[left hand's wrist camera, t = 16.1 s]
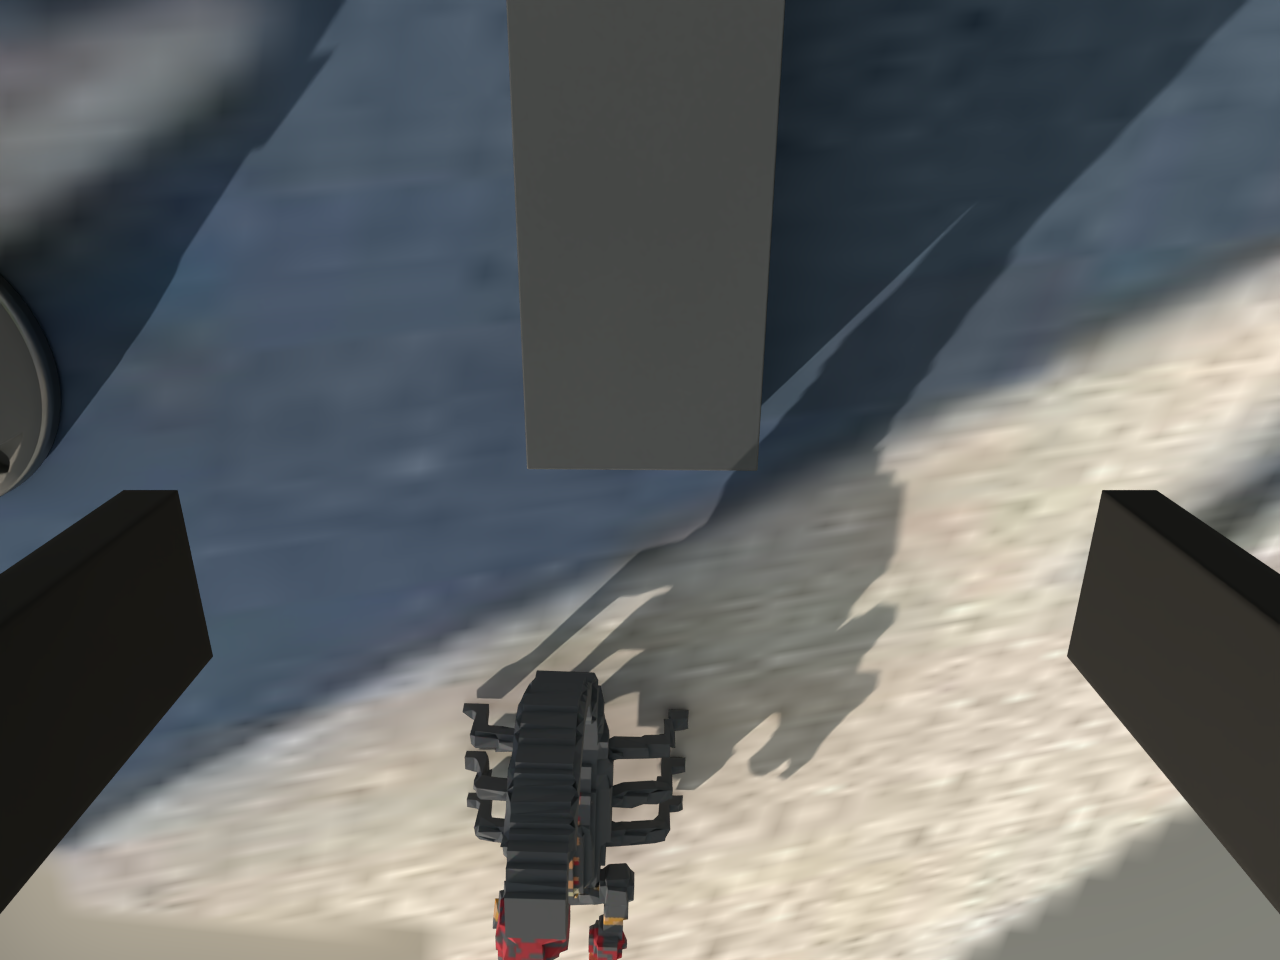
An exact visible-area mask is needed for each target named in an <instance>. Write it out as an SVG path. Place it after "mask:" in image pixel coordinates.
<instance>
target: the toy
mask: <svg viewBox="0 0 1280 960" xmlns="http://www.w3.org/2000/svg"><path fill="white" fill-rule="evenodd" d="M463 713H465V714H466V715H467V716H469V717H470V718H472V719H473V720H474V723H473V726H472V730H471V733H470V738H471V744H472V745H473V746H474V747H475V748H496V751H495V752H512V757H511V760H510V764H509V768H508V779H507V778H497V777H491V774H492V769H491V770H489V759H488V755H487V753H486V752H484V751H467V752H466V755H465V769H468V770H471V771H475V772H477V775H476V777H475V779H474V790H476V793H469V794H468V797H467V807H471V808H477V809H478V814H477V818H476V822H475V826H474V829H475V835H476V836H477V837H478V838H479V839H481V840H487V841H492V842H500V843H501V846H500V847H503V854H504V856H506V857H507V866H506V881H504V890H501V891H500V892H499V899H496V898H495V907H494V917H493V929H495V928H497V929H496V936H495V937H496V950H498V960H554V959H556V958H557V957H559V954H560V953H561V952H563V951H566V950H568V942H569V931H570V905H588V904H593V905H596V904H602V903H603V904H604V914H603V915H601V916H599V920H596V923H595V924H594V925H592V926H590V929H589V953H590V954H589V960H617V959H619V958H622V949H626V948H627V939H626V937H625V935H624V932H623V920H626V919H628V902H630V901H633V900H634V872H633V871H632V870H631V869H630V868H629V867H628V865H627V864H626V863H622V864H608V865H607V866H606V867H604V868H603V869H600V867H601V866H605V857H606V847H612V846H627V845H639V844H650V843H657V842H662V841H665V838H666V836H667V834H668V833H669V831H670V812H678V811H681V810H683V805H682V801H683V795H681V796H672V792H673V789H672V774H678V773H683V772H685V758H680V757H670V747H672V748H675V731H678V730H684V729H688V710H669V719H664V734H659V735H644V736H642V737H618V736H614V737H612V738H610V739H609V729H608V726H607V723H606V719H605V715H604V699H603V695H602V690H601V686H598V679H597V677H596V675H595V673H589V672H563V671H537V672H536V677H535V679H534V680H533V681H532V682H531V683H530V684H529V686H528V688H527V689H526V691H525V693H524V695H523V697H522V700H521V701H520V703H519V705H518V710H517V716H516V722H515V728H509V727H503V726H491V725H488V718H489V704H471V703H464V708H463ZM644 758H662V759H661V776H657V781H638V782H623V783H620V784H617V785H614V786H613V762H614V760H616V759H644ZM492 800H501V801H506V814H505V819H502V818H492V816H491V810H492ZM642 804H659V815H658V816H657V817H656V818H655V819H654V820H645V821H631V822H613V821H612V807H621V808H634V807H636V806H639V805H642Z"/></svg>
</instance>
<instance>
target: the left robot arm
mask: <svg viewBox="0 0 1280 960" xmlns="http://www.w3.org/2000/svg"><path fill="white" fill-rule="evenodd" d="M60 411H61V393H60V384H59V378H58V373H57V368H56V364H55V361H54V358H53V355H52V352H51V349H50V347H49V344H48V342H47V339H46V337H45V335H44V333H43V331H42V329H41V327H40V325H39V324H38V322H37V320H36V319H35V317H34V315H33V314H32V312H31V311H30V309H29V308H28V306H27V305H26V304H25V302H24V301H23V300H22V298H21V297H20V295H19V294H18V293H17V292H16V291H15V290H14V289H13V287H12V286H11V285H10V284H9V283H8V282H7V281H6V280H5V279H4V278H3V277H2V276H1V275H0V496H2V495H4V494H6V493H8V492H9V491H11V490H13V489H15V488H16V487H17V486H19V485H20V484H22V483H23V482H25V481H26V480H27V479H28V478H29V477H30V476H31V475H33V473H34V472H35V471H36V470H37V469H38V468H39V467H40V465H41V464H42V463H43V461H44V460H45V458H46V457H47V455H48V453H49V451H50V449H51V447H52V445H53V442H54V439H55V437H56V434H57V430H58V425H59V420H60ZM212 657H213V654H212V650H211V645H210V640H209V636H208V631H207V626H206V621H205V617H204V612H203V607H202V603H201V598H200V593H199V588H198V584H197V579H196V574H195V570H194V565H193V560H192V556H191V551H190V546H189V541H188V537H187V532H186V527H185V523H184V518H183V513H182V509H181V504H180V499H179V494H178V490H123V491H122V492H120V493H119V494H117V495H116V496H114V497H113V498H111V499H110V500H109V501H107V502H106V503H104V504H103V505H101V506H100V507H98V508H97V509H95V510H94V511H92V512H91V513H89V514H88V515H86V516H85V517H84V518H82V519H81V520H79V521H78V522H76V523H75V524H73V525H72V526H70V527H69V528H67V529H66V530H64V531H63V532H61V533H60V534H59V535H57V536H56V537H54V538H53V539H51V540H50V541H48V542H47V543H45V544H44V545H42V546H41V547H39V548H38V549H36V550H35V551H34V552H32V553H31V554H29V555H28V556H26V557H25V558H23V559H22V560H20V561H19V562H17V563H16V564H14V565H13V566H11V567H10V568H9V569H7V570H6V571H4V572H3V573H1V574H0V914H1V912H2V911H3V910H4V909H5V908H6V906H7V905H8V904H9V903H10V901H11V900H12V899H13V898H14V897H15V895H16V894H17V893H18V892H19V891H20V889H21V888H22V887H23V886H24V884H25V883H26V882H27V881H28V880H29V878H30V877H31V876H32V875H33V874H34V872H35V871H36V870H37V869H38V868H39V866H40V865H41V864H42V863H43V862H44V860H45V859H46V858H47V857H48V855H49V854H50V853H51V852H52V851H53V849H54V848H55V847H56V846H57V845H58V843H59V842H60V841H61V840H62V838H63V837H64V836H65V835H66V834H67V832H68V831H69V830H70V829H71V828H72V826H73V825H74V824H75V823H76V822H77V820H78V819H79V818H80V817H81V815H82V814H83V813H84V812H85V811H86V809H87V808H88V807H89V806H90V805H91V803H92V802H93V801H94V800H95V799H96V797H97V796H98V795H99V794H100V792H101V791H102V790H103V789H104V788H105V786H106V785H107V784H108V783H109V782H110V780H111V779H112V778H113V777H114V776H115V774H116V773H117V772H118V771H119V769H120V768H121V767H122V766H123V765H124V763H125V762H126V761H127V760H128V759H129V757H130V756H131V755H132V754H133V753H134V751H135V750H136V749H137V748H138V746H139V745H140V744H141V743H142V742H143V740H144V739H145V738H146V737H147V736H148V734H149V733H150V732H151V731H152V729H153V728H154V727H155V726H156V725H157V723H158V722H159V721H160V720H161V719H162V717H163V716H164V715H165V714H166V713H167V711H168V710H169V709H170V708H171V706H172V705H173V704H174V703H175V702H176V700H177V699H178V698H179V697H180V696H181V694H182V693H183V692H184V691H185V690H186V688H187V687H188V686H189V685H190V683H191V682H192V681H193V680H194V679H195V677H196V676H197V675H198V674H199V673H200V671H201V670H202V669H203V668H204V667H205V665H206V664H207V663H208V662H209V660H210V659H211V658H212ZM1067 657H1068V658H1069V659H1070V660H1071V662H1072V663H1073V664H1074V665H1075V667H1076V668H1077V669H1078V670H1079V671H1080V673H1081V674H1082V675H1083V676H1084V677H1085V679H1086V680H1087V681H1088V682H1089V683H1090V685H1091V686H1092V687H1093V688H1094V690H1095V691H1096V692H1097V693H1098V694H1099V696H1100V697H1101V698H1102V699H1103V700H1104V702H1105V703H1106V704H1107V705H1108V706H1109V708H1110V709H1111V710H1112V711H1113V713H1114V714H1115V715H1116V716H1117V717H1118V719H1119V720H1120V721H1121V722H1122V723H1123V725H1124V726H1125V727H1126V728H1127V729H1128V731H1129V732H1130V733H1131V734H1132V736H1133V737H1134V738H1135V739H1136V740H1137V742H1138V743H1139V744H1140V745H1141V746H1142V748H1143V749H1144V750H1145V751H1146V753H1147V754H1148V755H1149V756H1150V757H1151V759H1152V760H1153V761H1154V762H1155V763H1156V765H1157V766H1158V767H1159V768H1160V769H1161V771H1162V772H1163V773H1164V774H1165V776H1166V777H1167V778H1168V779H1169V780H1170V782H1171V783H1172V784H1173V785H1174V786H1175V788H1176V789H1177V790H1178V791H1179V792H1180V794H1181V795H1182V796H1183V797H1184V799H1185V800H1186V801H1187V802H1188V803H1189V805H1190V806H1191V807H1192V808H1193V809H1194V811H1195V812H1196V813H1197V814H1198V815H1199V817H1200V818H1201V819H1202V820H1203V822H1204V823H1205V824H1206V825H1207V826H1208V828H1209V829H1210V830H1211V831H1212V832H1213V834H1214V835H1215V836H1216V837H1217V839H1218V840H1219V841H1220V842H1221V843H1222V845H1223V846H1224V847H1225V848H1226V849H1227V851H1228V852H1229V853H1230V854H1231V855H1232V857H1233V858H1234V859H1235V860H1236V861H1237V863H1238V864H1239V865H1240V866H1241V868H1242V869H1243V870H1244V871H1245V872H1246V874H1247V875H1248V876H1249V877H1250V878H1251V880H1252V881H1253V882H1254V883H1255V884H1256V886H1257V887H1258V888H1259V889H1260V891H1261V892H1262V893H1263V894H1264V895H1265V897H1266V898H1267V899H1268V900H1269V901H1270V903H1271V904H1272V905H1273V906H1274V908H1275V909H1276V910H1277V911H1278V912H1279V914H1280V574H1279V573H1277V572H1276V571H1274V570H1273V569H1271V568H1270V567H1269V566H1267V565H1266V564H1264V563H1263V562H1261V561H1260V560H1258V559H1257V558H1255V557H1254V556H1252V555H1251V554H1249V553H1248V552H1246V551H1245V550H1244V549H1242V548H1241V547H1239V546H1238V545H1236V544H1235V543H1233V542H1232V541H1230V540H1229V539H1227V538H1226V537H1224V536H1223V535H1221V534H1220V533H1219V532H1217V531H1216V530H1214V529H1213V528H1211V527H1210V526H1208V525H1207V524H1205V523H1204V522H1202V521H1201V520H1199V519H1198V518H1196V517H1195V516H1194V515H1192V514H1191V513H1189V512H1188V511H1186V510H1185V509H1183V508H1182V507H1180V506H1179V505H1177V504H1176V503H1174V502H1173V501H1171V500H1170V499H1169V498H1167V497H1166V496H1164V495H1163V494H1161V493H1160V492H1158V491H1157V490H1102V494H1101V499H1100V504H1099V509H1098V513H1097V518H1096V523H1095V527H1094V532H1093V537H1092V541H1091V546H1090V551H1089V556H1088V560H1087V565H1086V570H1085V574H1084V579H1083V584H1082V588H1081V593H1080V598H1079V603H1078V607H1077V612H1076V617H1075V621H1074V626H1073V631H1072V636H1071V640H1070V645H1069V650H1068V654H1067Z"/></svg>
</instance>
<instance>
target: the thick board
mask: <svg viewBox="0 0 1280 960" xmlns="http://www.w3.org/2000/svg"><path fill="white" fill-rule="evenodd" d="M506 3H507V25H508V48H509V71H510V93H511V116H512V138H513V161H514V183H515V206H516V228H517V251H518V274H519V296H520V319H521V341H522V364H523V386H524V409H525V431H526V454H527V469H610V470H743V471H756V470H757V466H758V449H759V433H760V416H761V399H762V382H763V366H764V349H765V332H766V316H767V299H768V282H769V265H770V249H771V232H772V215H773V199H774V182H775V165H776V148H777V132H778V115H779V98H780V82H781V65H782V48H783V31H784V15H785V0H506Z"/></svg>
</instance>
